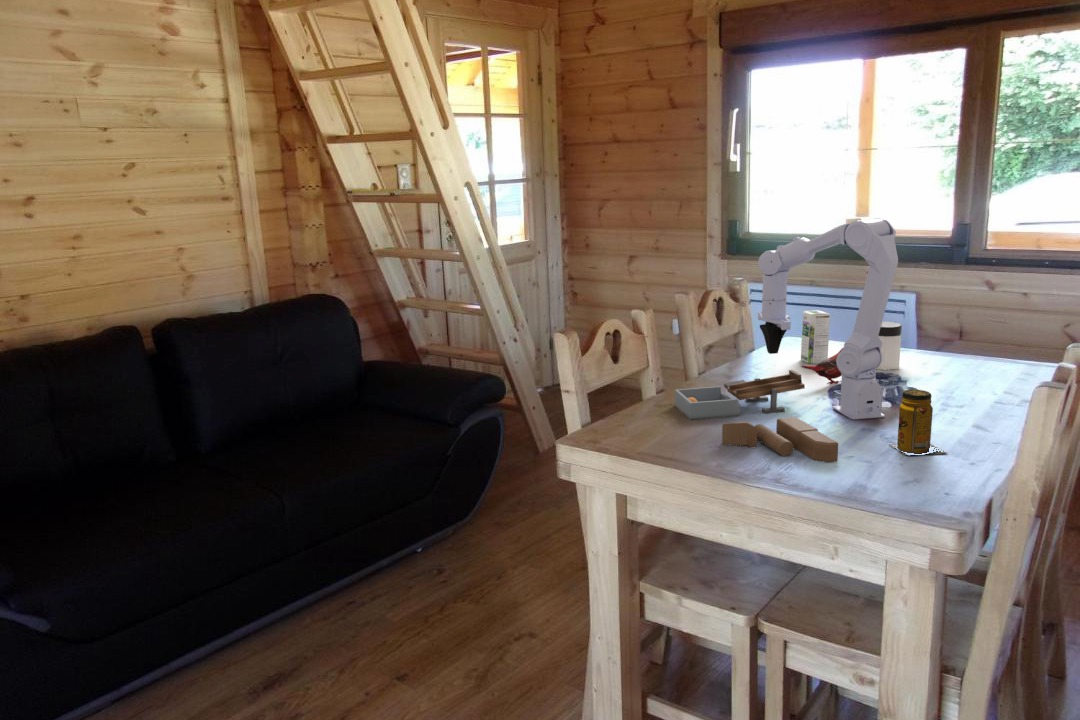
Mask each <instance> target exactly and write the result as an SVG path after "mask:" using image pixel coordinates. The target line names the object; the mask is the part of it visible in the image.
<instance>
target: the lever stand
mask: <svg viewBox="0 0 1080 720" xmlns="http://www.w3.org/2000/svg"><path fill="white" fill-rule="evenodd" d="M760 379H761V378H759V377H758V378H754V379H753V381H754V380H760ZM745 401H746V402H748V403H751V402H752V403H754V402H756V403H757V402H767V401H769V397H768V395H766V396H760V397H755V398H750V399H745ZM769 405H770V407H764V408H763V407H762V408H761V412H762V413H763V414H765V415H766V414H775V413H778V414H779V413H785V412H786V408H785V407H783V406H778V393H777V389H771V395H770V402H769Z"/></svg>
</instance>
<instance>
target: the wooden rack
mask: <svg viewBox="0 0 1080 720" xmlns="http://www.w3.org/2000/svg"><path fill="white" fill-rule="evenodd" d="M723 385H724V386H723V387H724V388H725V389H726V390H727V392H728V393H729V394H731V395H732V396H733V397H735V399H738V401H744V400H746V399H750V398H755V397H760V396H771V389H777V394H783V393H787V392H792V391H797V390H798V391H799V390H802V389H805V388H806V387H805V386H806V385H805V383H803V382H802V374H800V373H799V372H797V371H795V370H793V369H789V370H788V374H783V375H777V376H771V377H766V378H760V380H754V379H753V380H750V381H746V380H744V379H741V380H735V381H730V382H724V383H723Z"/></svg>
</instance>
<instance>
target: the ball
mask: <svg viewBox="0 0 1080 720" xmlns="http://www.w3.org/2000/svg"><path fill="white" fill-rule="evenodd" d="M688 399H689V400H690V401H691V402H697V400H696V399H695V398H693V397H690V398H688Z"/></svg>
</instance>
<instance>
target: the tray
mask: <svg viewBox="0 0 1080 720" xmlns="http://www.w3.org/2000/svg"><path fill="white" fill-rule="evenodd" d="M690 397H693V398H695V399H696V400H697V402H691V401H690V400H689V399H688V398H690ZM674 406H675V407H676V408H677V409H678V410H679V411H680V412H681V411H682V412H683V413H684V414H683V413H682V414H683V415H685V416H686V417H687V418H688V419H689V420H691V421H693V420H692V419H696V420H705V419H706V418H708V419H719V417H721V418H729V417H730V416H733V417H740V416H741V404H739V399H737V398H732V397H730V396H728V395H727V394H725V392H723V391H722V388H721V386H720V385H719V386H706V387H705V386H704V387H694V388H693V387H690V388H680V389H674ZM730 418H731V417H730Z"/></svg>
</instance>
